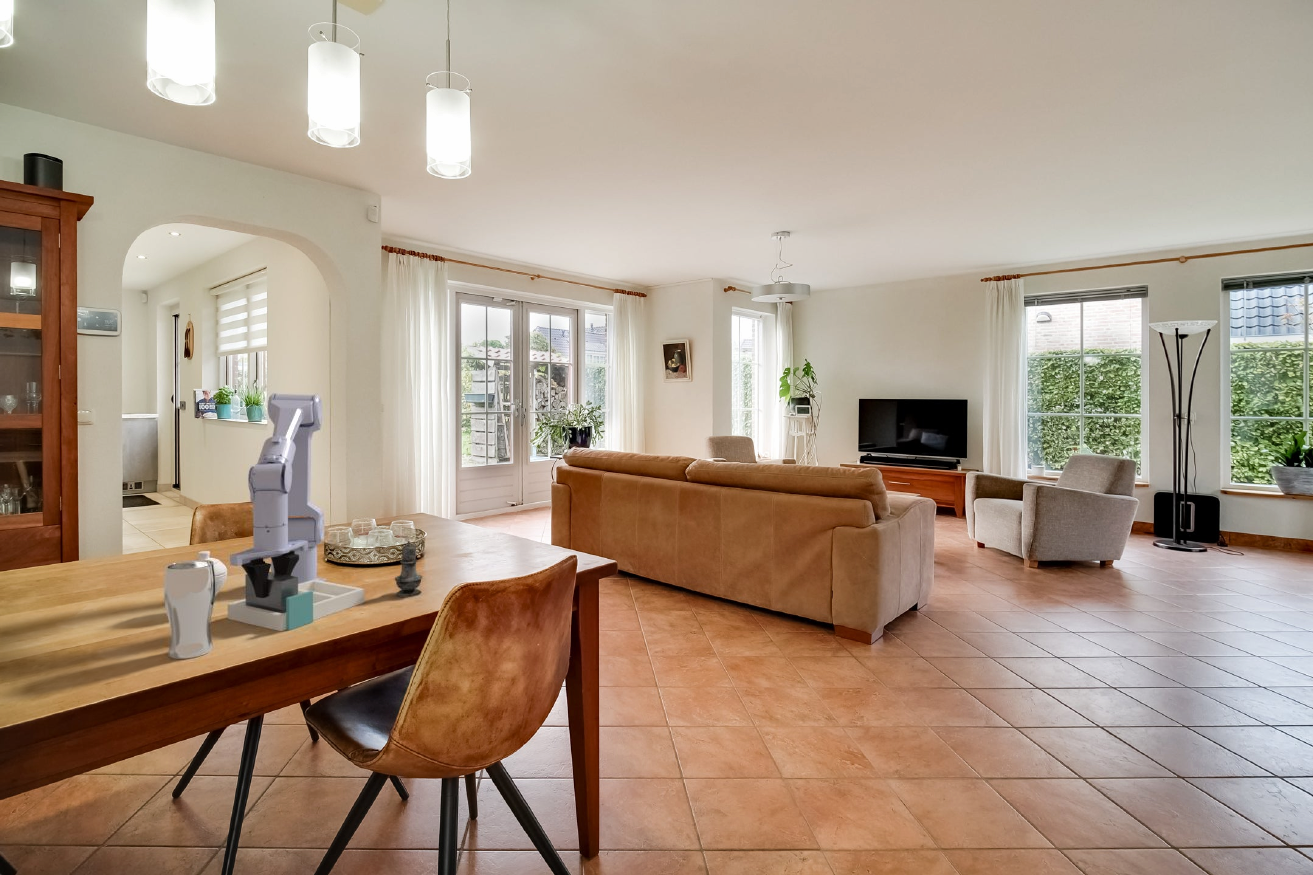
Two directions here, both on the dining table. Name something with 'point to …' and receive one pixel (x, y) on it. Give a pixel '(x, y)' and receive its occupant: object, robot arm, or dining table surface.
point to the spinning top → (215, 569)
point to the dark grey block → (273, 592)
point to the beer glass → (189, 607)
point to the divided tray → (300, 606)
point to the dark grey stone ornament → (408, 573)
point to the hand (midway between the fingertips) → (271, 594)
